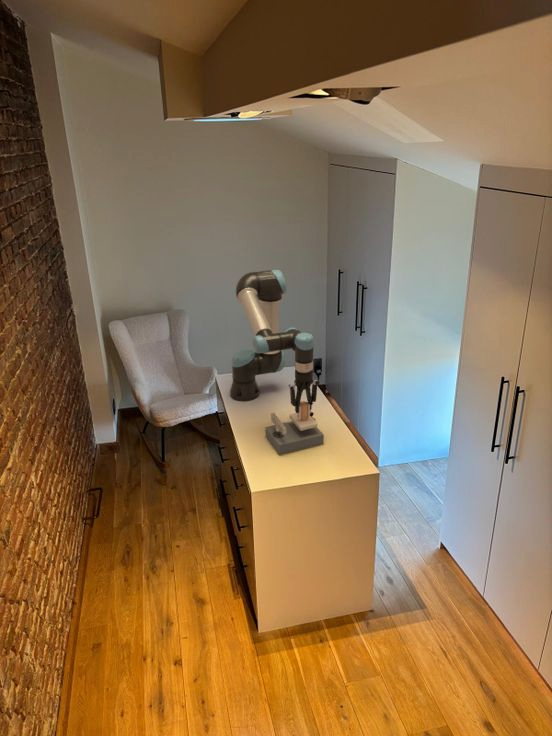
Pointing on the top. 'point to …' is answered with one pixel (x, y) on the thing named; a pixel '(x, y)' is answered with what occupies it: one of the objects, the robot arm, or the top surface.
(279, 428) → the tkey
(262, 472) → the top surface
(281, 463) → the top surface
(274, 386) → the top surface
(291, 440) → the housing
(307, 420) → the cover
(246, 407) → the top surface
